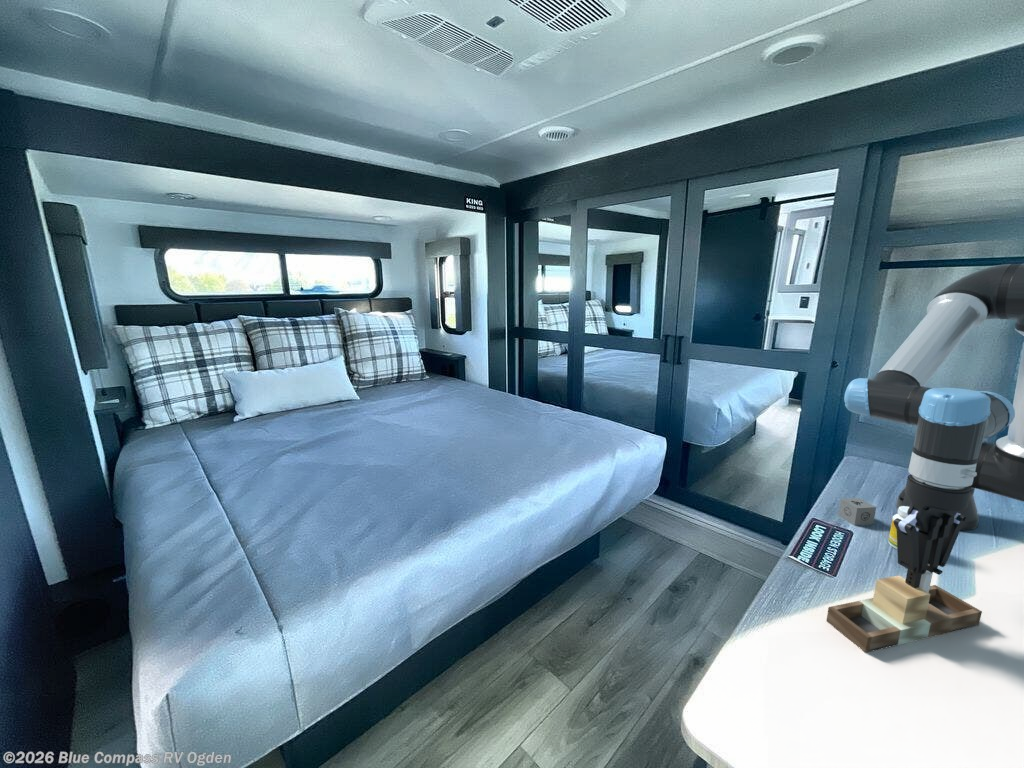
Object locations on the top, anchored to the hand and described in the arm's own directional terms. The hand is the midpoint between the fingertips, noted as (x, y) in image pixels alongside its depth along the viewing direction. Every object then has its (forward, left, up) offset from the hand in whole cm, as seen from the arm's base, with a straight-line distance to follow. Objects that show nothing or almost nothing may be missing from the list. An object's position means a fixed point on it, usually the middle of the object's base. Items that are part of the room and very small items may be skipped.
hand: (914, 600), depth 74 cm
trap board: (+1, 0, -5) cm, 5 cm away
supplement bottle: (-23, -18, -5) cm, 29 cm away
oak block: (+3, 0, -2) cm, 4 cm away
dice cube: (-24, -30, -5) cm, 38 cm away
